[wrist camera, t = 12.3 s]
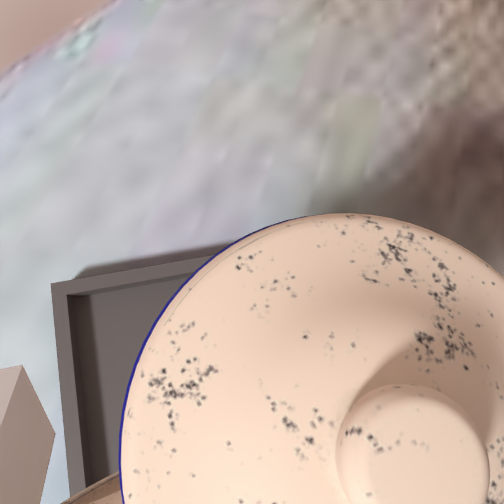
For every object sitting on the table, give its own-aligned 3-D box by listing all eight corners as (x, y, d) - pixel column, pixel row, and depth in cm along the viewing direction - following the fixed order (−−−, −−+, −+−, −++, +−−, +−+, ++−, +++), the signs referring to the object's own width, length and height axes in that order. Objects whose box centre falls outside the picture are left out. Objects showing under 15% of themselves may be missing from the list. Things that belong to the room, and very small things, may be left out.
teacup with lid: (350, 252, 19) (539, 70, 7) (455, 475, 17) (929, 686, 5) (62, 366, 17) (-263, 353, 6) (141, 631, 15) (-115, 1422, 4)
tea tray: (374, 233, 30) (383, 224, 28) (457, 535, 25) (474, 548, 24) (61, 289, 28) (50, 283, 26) (94, 630, 23) (84, 650, 22)
